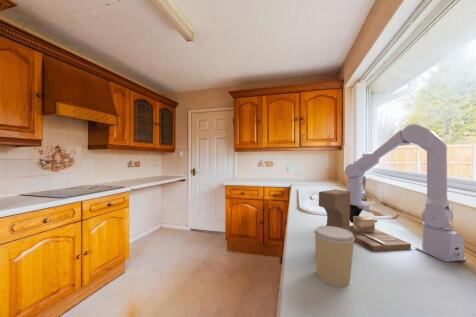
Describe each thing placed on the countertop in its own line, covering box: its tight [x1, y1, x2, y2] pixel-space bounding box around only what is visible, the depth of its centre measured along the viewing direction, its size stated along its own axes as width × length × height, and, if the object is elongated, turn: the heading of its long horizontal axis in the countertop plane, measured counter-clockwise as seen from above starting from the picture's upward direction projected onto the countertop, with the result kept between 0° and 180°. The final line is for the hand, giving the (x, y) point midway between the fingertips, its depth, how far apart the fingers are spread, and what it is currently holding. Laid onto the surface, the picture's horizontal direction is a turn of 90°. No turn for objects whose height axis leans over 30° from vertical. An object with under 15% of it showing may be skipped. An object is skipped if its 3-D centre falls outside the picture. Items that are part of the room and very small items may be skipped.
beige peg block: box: [352, 215, 378, 232], centre depth 85 cm, size 5×9×5 cm, turn 100°
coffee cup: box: [314, 225, 355, 288], centre depth 53 cm, size 9×9×12 cm
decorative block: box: [318, 188, 351, 231], centre depth 69 cm, size 11×6×20 cm, turn 127°
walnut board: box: [350, 225, 412, 252], centre depth 80 cm, size 20×15×2 cm
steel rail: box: [350, 227, 386, 245], centre depth 80 cm, size 20×1×1 cm, turn 10°
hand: (353, 222), depth 90 cm, fingers closed
